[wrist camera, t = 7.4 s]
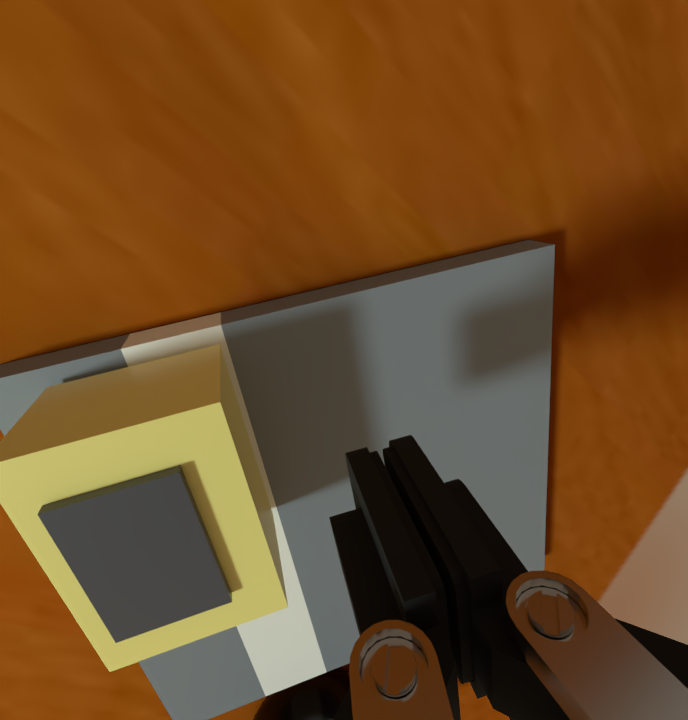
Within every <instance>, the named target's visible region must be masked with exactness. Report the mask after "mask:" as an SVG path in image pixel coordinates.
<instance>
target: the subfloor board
mask: <svg viewBox="0 0 688 720" xmlns="http://www.w3.org/2000/svg"><path fill="white" fill-rule="evenodd" d="M554 260H555V244H550V243H544V242H538V241H533V240H525V241H521V242H517V243H512V244H508V245H504V246H500V247H495V248H491V249H487V250H483V251H479V252H474V253H470V254H466V255H462V256H457V257H453V258H449V259H445V260H440V261H436V262H432V263H428V264H423V265H419V266H415V267H411V268H407V269H402V270H398V271H394V272H390V273H385V274H381V275H377V276H373V277H368V278H364V279H360V280H356V281H351V282H347V283H343V284H339V285H335V286H330V287H326V288H322V289H318V290H313V291H309V292H305V293H301V294H296V295H292V296H288V297H284V298H279V299H275V300H271V301H267V302H263V303H258V304H254V305H250V306H246V307H241V308H237V309H233V310H229V311H224V312H220V313H216V314H212V315H207V316H203V317H199V318H195V319H191V320H186V321H182V322H178V323H174V324H169V325H165V326H161V327H157V328H152V329H148V330H144V331H140V332H135V333H131V334H127V335H123V336H119V337H114V338H110V339H106V340H102V341H97V342H93V343H89V344H85V345H80V346H76V347H72V348H68V349H63V350H59V351H55V352H51V353H47V354H42V355H38V356H34V357H30V358H25V359H21V360H17V361H13V362H8V363H4V364H0V430H1V431H2V433H3V435H4V436H5V435H6V434H7V433H8V432H9V431H10V430H11V428H12V427H13V426H14V425H15V424H16V423H17V422H18V420H19V419H20V418H21V417H22V416H23V415H24V413H25V412H26V411H27V410H28V409H29V408H30V406H31V405H32V404H33V403H34V402H35V401H36V399H37V398H38V397H39V396H40V395H41V394H42V392H43V391H44V390H45V389H46V388H47V387H50V386H54V385H58V384H62V383H66V382H70V381H74V380H78V379H82V378H86V377H90V376H94V375H98V374H102V373H106V372H110V371H114V370H118V369H122V368H126V367H130V366H134V365H138V364H142V363H146V362H150V361H154V360H158V359H162V358H166V357H170V356H174V355H178V354H182V353H186V352H190V351H194V350H198V349H202V348H206V347H210V346H214V345H218V344H220V345H221V349H222V352H223V355H224V358H225V361H226V365H227V368H228V371H229V374H230V378H231V381H232V384H233V387H234V390H235V394H236V397H237V400H238V403H239V406H240V410H241V413H242V416H243V419H244V422H245V426H246V429H247V432H248V435H249V438H250V442H251V445H252V448H253V451H254V455H255V458H256V461H257V464H258V467H259V471H260V474H261V477H262V480H263V483H264V487H265V490H266V493H267V496H268V499H269V503H270V506H271V509H272V512H273V517H274V523H275V529H276V535H277V541H278V547H279V553H280V560H281V566H282V572H283V578H284V584H285V590H286V596H287V602H288V607H287V608H285V609H282V610H279V611H276V612H274V613H271V614H268V615H265V616H263V617H260V618H257V619H254V620H251V621H249V622H246V623H243V624H240V625H238V626H235V627H232V628H229V629H227V630H224V631H221V632H218V633H216V634H213V635H210V636H207V637H205V638H202V639H199V640H196V641H194V642H191V643H188V644H185V645H183V646H180V647H177V648H174V649H172V650H169V651H166V652H163V653H161V654H158V655H155V656H152V657H150V658H147V659H144V660H141V661H139V664H140V666H141V667H142V669H143V671H144V672H145V674H146V676H147V677H148V679H149V681H150V683H151V684H152V686H153V688H154V689H155V691H156V693H157V694H158V696H159V698H160V699H161V701H162V703H163V704H164V706H165V708H166V710H167V711H168V713H169V715H170V716H171V718H172V720H207V719H210V718H212V717H215V716H218V715H220V714H223V713H225V712H228V711H230V710H233V709H235V708H238V707H240V706H243V705H245V704H248V703H250V702H253V701H255V700H258V699H260V698H263V697H265V696H268V695H271V694H273V693H276V692H278V691H281V690H283V689H286V688H288V687H291V686H293V685H296V684H298V683H301V682H303V681H306V680H308V679H311V678H313V677H316V676H318V675H321V674H323V673H326V672H329V671H331V670H334V669H336V668H339V667H341V666H344V665H346V664H349V663H350V655H351V652H352V650H353V647H354V644H355V642H356V641H357V640H358V638H359V637H360V635H359V631H358V628H357V624H356V620H355V616H354V613H353V609H352V605H351V601H350V597H349V594H348V590H347V586H346V582H345V579H344V575H343V571H342V567H341V563H340V559H339V555H338V551H337V547H336V543H335V539H334V535H333V531H332V527H331V523H330V518H329V517H331V516H335V515H338V514H342V513H345V512H348V511H352V510H355V509H356V507H355V502H354V498H353V493H352V488H351V483H350V478H349V473H348V468H347V463H346V458H345V453H347V452H351V451H354V450H358V449H361V448H365V447H367V448H368V450H369V452H373V451H377V452H378V453H379V455H380V457H381V459H382V461H383V463H384V458H383V449H384V448H387V447H389V441H390V440H394V439H397V438H401V437H404V436H408V435H412V436H413V437H414V439H415V440H416V442H417V443H418V445H419V446H420V448H421V449H422V451H423V452H424V454H425V455H426V457H427V458H428V460H429V461H430V463H431V464H432V466H433V467H434V469H435V470H436V472H437V473H438V475H439V476H440V478H441V479H442V481H443V482H444V483H445V482H448V481H452V480H455V479H459V480H461V481H462V482H463V483H464V484H465V486H466V487H467V488H468V490H469V491H470V492H471V494H472V495H473V497H474V498H475V499H476V501H477V502H478V503H479V505H480V506H481V507H482V509H483V510H484V512H485V513H486V514H487V516H488V517H489V518H490V520H491V521H492V522H493V524H494V525H495V527H496V528H497V529H498V531H499V532H500V533H501V535H502V536H503V538H504V539H505V540H506V542H507V543H508V544H509V546H510V547H511V548H512V550H513V551H514V553H515V554H516V555H517V557H518V558H519V559H520V561H521V562H522V564H523V565H524V566H525V568H526V569H527V570H528V572H530V571H544V560H545V530H546V500H547V470H548V440H549V410H550V380H551V350H552V320H553V290H554ZM384 465H385V464H384Z"/></svg>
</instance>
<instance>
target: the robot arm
mask: <svg viewBox="0 0 688 720" xmlns="http://www.w3.org/2000/svg"><path fill="white" fill-rule="evenodd" d="M345 458H346V463H347V468H348V473H349V478H350V483H351V488H352V493H353V498H354V502H355V507H356V509H355V510H352V511H348V512H345V513H342V514H338V515H335V516H331V517H329V518H330V523H331V527H332V531H333V535H334V539H335V543H336V547H337V551H338V555H339V559H340V563H341V567H342V571H343V575H344V579H345V582H346V586H347V590H348V594H349V597H350V601H351V605H352V609H353V613H354V616H355V620H356V624H357V628H358V631H359V635H360V637H359V638H358V640H357V641H356V642H355V644H354V647H353V650H352V652H351V655H350V664H349V677H350V687H349V689H348V691H347V693H346V695H345V697H344V699H343V701H342V703H341V705H340V707H339V709H338V711H337V713H336V715H335V716H334V718H333V720H461V719H460V707H459V696H458V684H457V677H458V679H459V681H460V682H461V683H462V684H464V683H466V682H469V681H470V683H471V686H472V688H473V690H474V692H475V694H476V696H477V699H478V698H481V697H483V696H486V695H487V697H488V699H489V701H490V703H491V705H492V707H493V709H495V710H497V711H499V712H501V713H503V714H505V715H507V716H509V718H510V720H688V645H686V644H684V643H681V642H678V641H675V640H672V639H670V638H667V637H664V636H662V635H659V634H656V633H653V632H650V631H648V630H645V629H642V628H640V627H637V626H634V625H631V624H628V623H626V622H623V621H620V620H617V619H614V618H613V617H612V616H611V615H610V614H609V613H608V612H607V611H606V610H605V609H604V608H603V607H602V606H601V605H600V604H599V603H598V602H597V601H596V600H594V599H593V598H592V597H591V596H590V595H589V594H588V593H587V592H586V591H585V590H584V589H583V588H582V587H580V586H579V585H578V584H576V583H575V582H574V581H572V580H571V579H569V578H567V577H564V576H562V575H560V574H558V573H554V572H549V571H545V570H544V571H530V572H528V570H527V569H526V568H525V566H524V565H523V564H522V562H521V561H520V559H519V558H518V557H517V555H516V554H515V553H514V551H513V550H512V548H511V547H510V546H509V544H508V543H507V542H506V540H505V539H504V538H503V536H502V535H501V533H500V532H499V531H498V529H497V528H496V527H495V525H494V524H493V522H492V521H491V520H490V518H489V517H488V516H487V514H486V513H485V512H484V510H483V509H482V507H481V506H480V505H479V503H478V502H477V501H476V499H475V498H474V497H473V495H472V494H471V492H470V491H469V490H468V488H467V487H466V486H465V484H464V483H463V482H462V481H461V480H459V479H455V480H452V481H448V482H445V483H444V482H443V481H442V479H441V478H440V476H439V475H438V473H437V472H436V470H435V469H434V467H433V466H432V464H431V463H430V461H429V460H428V458H427V457H426V455H425V454H424V452H423V451H422V449H421V448H420V446H419V445H418V443H417V442H416V440H415V439H414V437H413V436H412V435H408V436H404V437H401V438H397V439H394V440H390V441H389V447H387V448H384V449H383V458H384V463H383V461H382V459H381V457H380V455H379V453H378V452H377V451H373V452H369V450H368V448H367V447H365V448H361V449H358V450H354V451H351V452H347V453H345ZM384 464H385V465H384Z"/></svg>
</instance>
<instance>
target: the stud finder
mask: <svg viewBox="0 0 688 720" xmlns="http://www.w3.org/2000/svg"><path fill="white" fill-rule="evenodd" d="M0 503H1V505H2V507H3V508H4V510H5V511H6V513H7V514H8V516H9V517H10V519H11V520H12V522H13V524H14V525H15V527H16V528H17V530H18V531H19V533H20V534H21V536H22V537H23V539H24V541H25V542H26V544H27V545H28V547H29V548H30V550H31V551H32V553H33V554H34V556H35V558H36V559H37V561H38V562H39V564H40V565H41V567H42V568H43V570H44V571H45V573H46V574H47V576H48V578H49V579H50V581H51V582H52V584H53V585H54V587H55V588H56V590H57V591H58V593H59V595H60V596H61V598H62V599H63V601H64V602H65V604H66V605H67V607H68V608H69V610H70V612H71V613H72V615H73V616H74V618H75V619H76V621H77V622H78V624H79V625H80V627H81V629H82V630H83V632H84V633H85V635H86V636H87V638H88V639H89V641H90V642H91V644H92V646H93V647H94V649H95V650H96V652H97V653H98V655H99V656H100V658H101V659H102V661H103V663H104V664H105V666H106V667H107V669H108V670H109V672H111V671H114V670H117V669H119V668H122V667H125V666H128V665H130V664H133V663H136V662H139V661H141V660H144V659H147V658H150V657H152V656H155V655H158V654H161V653H163V652H166V651H169V650H172V649H174V648H177V647H180V646H183V645H185V644H188V643H191V642H194V641H196V640H199V639H202V638H205V637H207V636H210V635H213V634H216V633H218V632H221V631H224V630H227V629H229V628H232V627H235V626H238V625H240V624H243V623H246V622H249V621H251V620H254V619H257V618H260V617H263V616H265V615H268V614H271V613H274V612H276V611H279V610H282V609H285V608H287V607H288V602H287V596H286V590H285V584H284V578H283V572H282V566H281V560H280V553H279V547H278V541H277V535H276V529H275V523H274V517H273V512H272V509H271V506H270V503H269V499H268V496H267V493H266V490H265V487H264V483H263V480H262V477H261V474H260V471H259V467H258V464H257V461H256V458H255V455H254V451H253V448H252V445H251V442H250V438H249V435H248V432H247V429H246V426H245V422H244V419H243V416H242V413H241V410H240V406H239V403H238V400H237V397H236V394H235V390H234V387H233V384H232V381H231V378H230V374H229V371H228V368H227V365H226V361H225V358H224V355H223V352H222V349H221V345H220V344H218V345H214V346H210V347H206V348H202V349H198V350H194V351H190V352H186V353H182V354H178V355H174V356H170V357H166V358H162V359H158V360H154V361H150V362H146V363H142V364H138V365H134V366H130V367H126V368H122V369H118V370H114V371H110V372H106V373H102V374H98V375H94V376H90V377H86V378H82V379H78V380H74V381H70V382H66V383H62V384H58V385H54V386H50V387H47V388H46V389H45V390H44V391H43V392H42V394H41V395H40V396H39V397H38V398H37V399H36V401H35V402H34V403H33V404H32V405H31V406H30V408H29V409H28V410H27V411H26V412H25V413H24V415H23V416H22V417H21V418H20V419H19V420H18V422H17V423H16V424H15V425H14V426H13V427H12V428H11V430H10V431H9V432H8V433H7V434H6V435H5V437H4V438H3V439H2V440H1V441H0Z"/></svg>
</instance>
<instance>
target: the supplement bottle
mask: <svg viewBox="0 0 688 720" xmlns="http://www.w3.org/2000/svg"><path fill="white" fill-rule="evenodd" d="M349 687H350V677H349V673H347V672H342V671H329V672H326V673H323V674H321V675H318V676H316V677H313V678H311V679H308V680H306V681H303V682H301V683H298V684H296V685H293V686H291V687H288V688H286V689H283V690H281V691H278V692H276V693H273V694H271V695H270V696H269V697H268V698H267V699H266V700H265V701H264V702H263V704H262V705H261V706H260V708H259V709H258V711H257V713H256V715H255V717H254V719H253V720H333V718H334V716H335V715H336V713H337V711H338V709H339V707H340V705H341V703H342V701H343V699H344V697H345V695H346V693H347V691H348V689H349Z"/></svg>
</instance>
